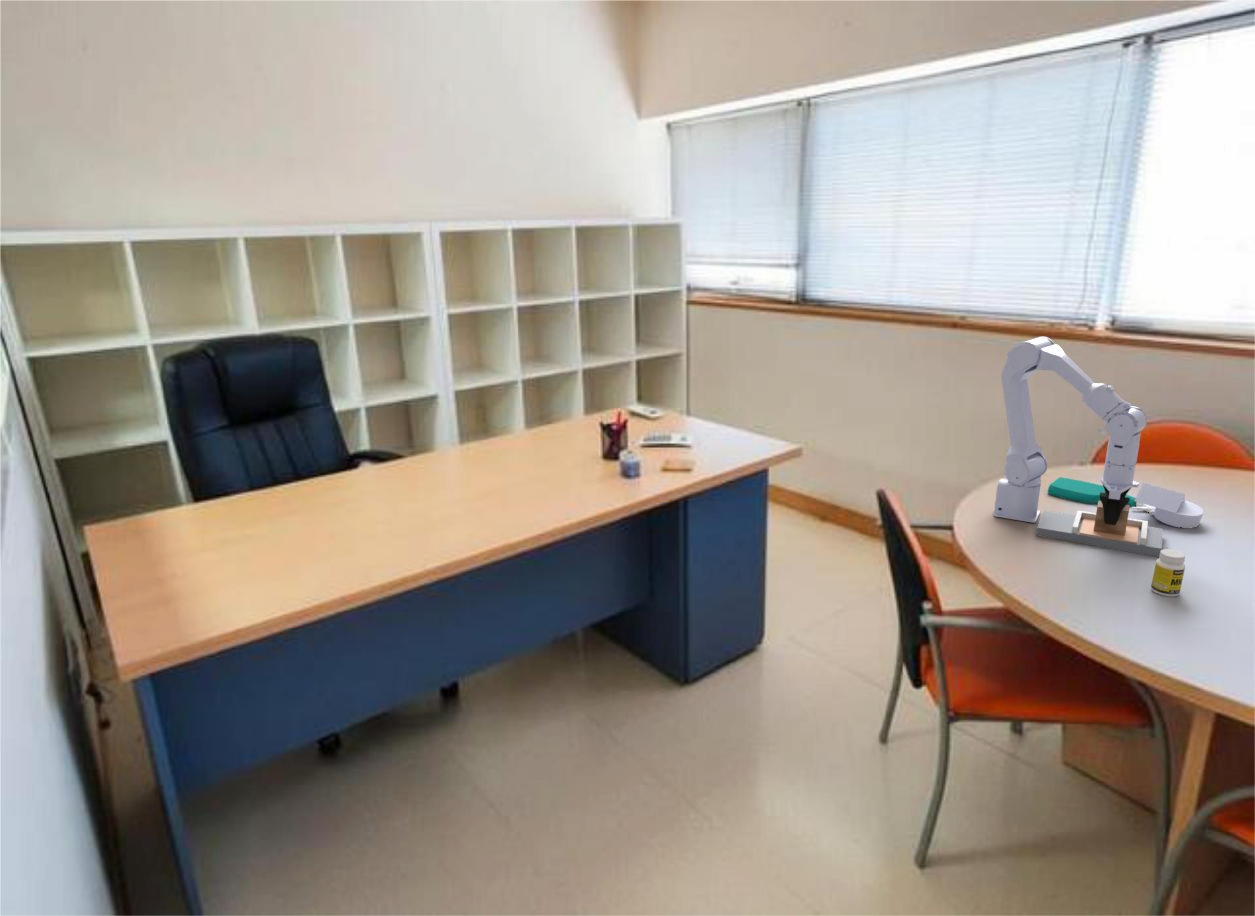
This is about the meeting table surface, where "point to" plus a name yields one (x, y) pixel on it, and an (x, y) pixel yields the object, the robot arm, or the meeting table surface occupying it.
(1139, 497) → the wedge on round base
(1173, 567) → the supplement bottle
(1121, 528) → the brown rectangular block
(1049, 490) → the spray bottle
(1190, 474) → the meeting table surface
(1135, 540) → the frame
